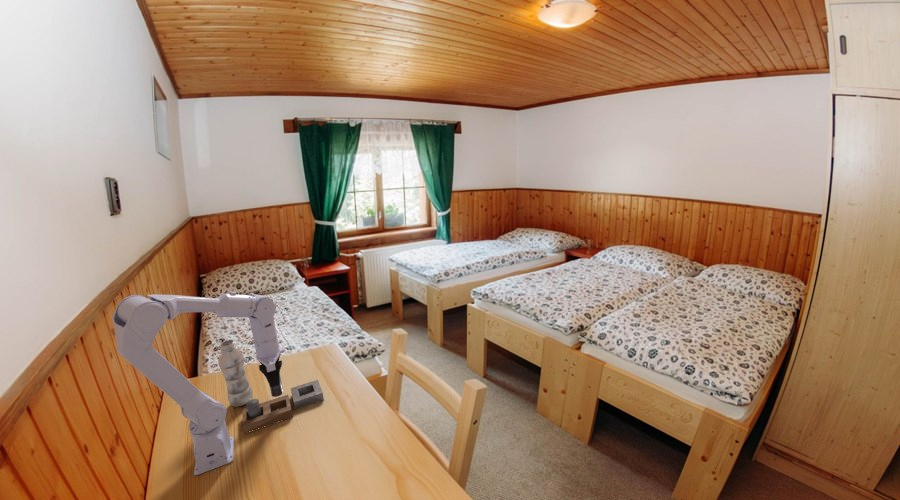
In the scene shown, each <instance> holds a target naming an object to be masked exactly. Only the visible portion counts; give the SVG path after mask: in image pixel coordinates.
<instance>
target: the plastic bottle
mask: <svg viewBox="0 0 900 500" xmlns="http://www.w3.org/2000/svg"><path fill="white" fill-rule="evenodd" d="M235 343H236V342H235V340H234V339H228V340H225V341H223V342H221V343H220V344H219V347H220V352H221V354H220V356H219V358H218V363H217V364H218V367H219V369H220V371H221V373H222V375H223V378H224V381H225V385H226V390H227V393H226V396H227V401H228V403H229V404H230V406H233V408H234V407H235V408H236V407H238V408H239V407H242V406H245V405H246V403H247V402H248V401H250V400H252V398H253V389H252V386H251V385H250V383H249V380H248V377H247V375H246V369H245V360H244V358H245V357H244V354H243V353H242V352H241V351H240V350H239V349H237V348H236V344H235Z"/></svg>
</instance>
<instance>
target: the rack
mask: <svg viewBox="0 0 900 500" xmlns="http://www.w3.org/2000/svg"><path fill="white" fill-rule="evenodd" d="M259 401H260V400H259V399H258V398H253V399H252V398H251V400H250V401H248V402H247V403H246V404H245V405H246V407H245V408H243V409H242V428H243V433H244V434H245V433H246V434H248V433H247V432H249V431H252V430H255V431H257V430H256V429H258V428H261V429H263V428H265V427H264V426H266V427H269V426H271V424H272V425H274V423H275V424H277V423H276V422H278V421H280V422H282V421H281V420H283V421H286V420H288V418H289V419H292V418H293V417H294V415H293V411H292V405H291V402H290V397H289V394H286V395H283V396H282V395H281V396H278V397H275V398H274V399H269V400H268V401H264V402H261V403H260V402H259ZM280 408H281V409H280ZM277 409H278V410H277ZM291 417H292V418H291ZM285 419H286V420H285ZM278 423H279V422H278ZM268 425H269V426H268ZM262 427H263V428H262ZM258 430H259V429H258ZM252 432H253V431H252ZM249 433H250V432H249Z"/></svg>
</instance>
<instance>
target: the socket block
mask: <svg viewBox="0 0 900 500" xmlns="http://www.w3.org/2000/svg"><path fill="white" fill-rule="evenodd" d="M321 387H322V386H321V385H320V382H319V380H318V379H315V380H313V381H308V382H306V383H303V384H300V385H296V386H292V387H290V392H291V397H292V402H293V406H294V410H296V411H297V410H300V409H302V408H304V407H308V406H310V405H313V404H317V403H319V402H322V401H324V394H323V393H324V392H323V390H322V388H321Z"/></svg>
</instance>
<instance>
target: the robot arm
mask: <svg viewBox="0 0 900 500" xmlns="http://www.w3.org/2000/svg"><path fill="white" fill-rule="evenodd" d="M237 293H238V292H237V291H230V290H229V291H228V293H221V294H220V295H219V296H217V297H216V298H215V297H214V298H213V297H203V296H201V297H200V296H191V295H190V296H189V295H181V294H180V295H177V294H154V293H153V294H147V295H146V296H144V295H143V294H142V295H141V294H132V295H129V296H127V297H124V298H123V299H121V300H120V301H119V302H118V303H117V305H116V308H115V309H114V313H113V315H112V318H111V320H112V322H113V326H114V332H115V333H114V334H115V342H116V349H117V353H118V354H119V355H120V356H121V357H122V358H123V359H124V360H126V361H127V362H128V363H129V364H130V365H132V366H133V368H135V369H136V370H137V371H138V372H139V373H141V374H142V375H144V377H146V378H147V379H148V380H149V381H150V382H151V383H153V384H154V385H155V386H156V387H157V388H159V389H160V390H161V391H162V392H163V393H164V394H166V395H167V396H168V397H169V398H170V399H171V400H173V402H175V403H176V404H177V405H178V406H179V407H180V410H181V414H182V416H183V417H184V418H186V419H188V420H189V425H188V430H189V433H190V437H191V440H192V444H193V451H192V452H193V456H194V459H195V464H194V469H193V476H198V475H200V474H203V473H207V472H209V471H211V470H214V469H216V468H219V467H222V466H225V465H227V464H230V463H233V462H234V449H235V448H234V443H235V442H234V441H235V439H234V438H235V437H234V436H230V435H229V430H228V427H227V423H226V417H227V414H228V413H227V412H228V409H227V407H226V405H225V404H223V403H221V402H219V401H218V400H216V399H214V398H212V397H211V396H210V395H209V394H208V393H206V392H203V391H201V390H200V389H199V388H197V387H196V386H195V385H194V384H193V383H192V382H191V381H190V380H189V379H188V378H187V377H186V376H184V375H183V374H182V373H181V372H180V371H179V370H178V369H177V368H176V367H175V366H174V365H173V364H171V362H169V360H167V359H166V358H165V357H164V356H163V355H162V354H161V353H160V352H159V351H157V350H156V349H155V348H154V347H153V344H154V341H155V339H156V337H157V335H158V334H159V333H160V331H161V330H162V328H163V327H164V325H165V324H166V322H167V320H170V321H173V320H175V318H176V317H177V316H179V315H181V313H182V314H183V313H216V315H217V316H218V317H220V318H248V321H249V325H250V329H251V333H252V339H253V343H254V344H253V345H254V349H255V354H256V355H255V358H256V360H257V362H259V364H258V370H259V371H260V372H261V373H262V374H263V375H264V377H265V378H266V381H267V383H268V385H269V388H270V387H274V386H277V385H279V374H280V373H281V369H282V366H283V361H282V360H280V358H281V354H282V353H286V351H285V347H283V346H282V347H280V343H279V339H278V333H277V329H276V328H277V327H276V324H275V317H274V315H275V313H276V309H277V304H276V303H275V302H274V301H273V299H272V298H270V297H267V296H264V295H260V294H255V293H248V294H237ZM147 296H148V297H149V298H148V297H147ZM280 375H281V374H280Z"/></svg>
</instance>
